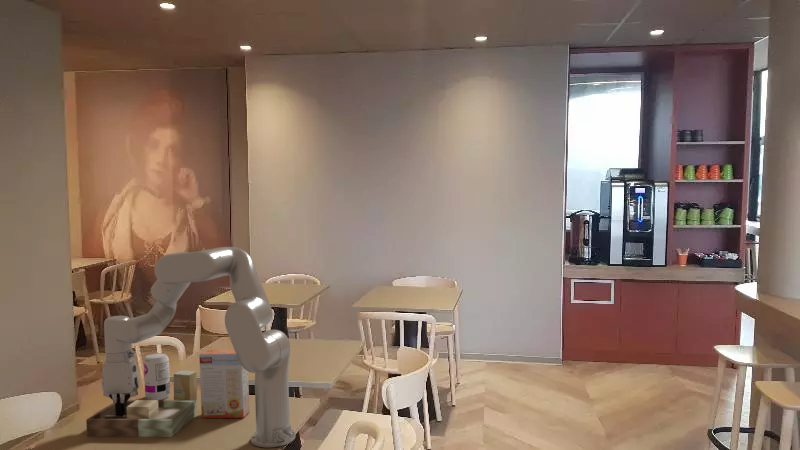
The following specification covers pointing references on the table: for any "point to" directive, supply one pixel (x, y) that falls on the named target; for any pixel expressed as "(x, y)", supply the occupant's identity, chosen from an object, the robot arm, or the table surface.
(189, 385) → the skincare box
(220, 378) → the cracker box
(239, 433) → the table surface
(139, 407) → the maple block
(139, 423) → the track
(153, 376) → the supplement can
